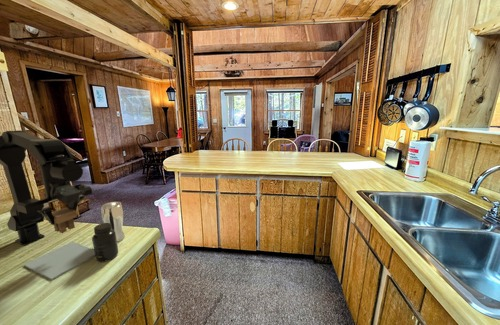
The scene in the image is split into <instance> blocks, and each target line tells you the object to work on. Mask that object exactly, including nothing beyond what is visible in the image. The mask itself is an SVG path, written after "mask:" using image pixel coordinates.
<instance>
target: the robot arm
mask: <svg viewBox="0 0 500 325" xmlns="http://www.w3.org/2000/svg"><path fill="white" fill-rule="evenodd" d="M27 150H29V151H30V154H31V156H33V157H34V158H35V159H36V160H37V161H36V164H37V165H39V168H40V173H41V176H42V178H41V179H42V181H41V185H42V186H43V187H44V193H43V196H44V197H45V198H41V199H37V198H33V197H32V194H31V192H30V186H29V184H28V180H27V176H26V173H25V169H24V166H23V163H24V161H25V159H26V157H27V154H26V153H27V152H26V151H27ZM0 165H1V166H2V168H3V171H4V174H5V178H6V180H7V184H8V187H9V190H10V194H11V197H12V200H13V205H12V207H11V209H10V211H9V214H10V216H9V219H8V222H7V223H6V225H7V228H8V229H9V230H11V231H14V232H16V233H17V237H18V238H17V239H15V240H14V241H15V243H18V244H20V245H22V246H25V245H27V244H30V243H33V242H35V241H37V240H40V239H43V238H44V237H45V235H44V234H42V233H40V230H39V225H38V224H39V223H43V222H44V220H47V222H49V224H50V225H53V226H54V224H55V223H54V218H53V215H52V212H53V207H51V206H49V204H51V203H54V202H58V201H60V202H61V204H67V208H69V209H73V210H76V211H77V209H78V206H79V203H80V201H82V200H83V199H85V197H86V196H90V195H92V194H93V193H94V190H93V188H92V187H91V186H89V185H84V184H83V183H78V184H74V185H72V184H71V182H76V181H78V180H80V179H81V178H82V176H83V175H84V171H83V168H82V166H81V165H79V164H78V163H75V160H74V157H73V154H72V153H71V151H70V150H69V148H68V147H67V146H66V144H65V143H64V142H63V141H62V140H60V139H58V138H57V139H56V138H41V137H39V136H36V135H33V134H30V133H28V132H26V131H25V130H6V131H3V132H2V134H1V135H0Z"/></svg>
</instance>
